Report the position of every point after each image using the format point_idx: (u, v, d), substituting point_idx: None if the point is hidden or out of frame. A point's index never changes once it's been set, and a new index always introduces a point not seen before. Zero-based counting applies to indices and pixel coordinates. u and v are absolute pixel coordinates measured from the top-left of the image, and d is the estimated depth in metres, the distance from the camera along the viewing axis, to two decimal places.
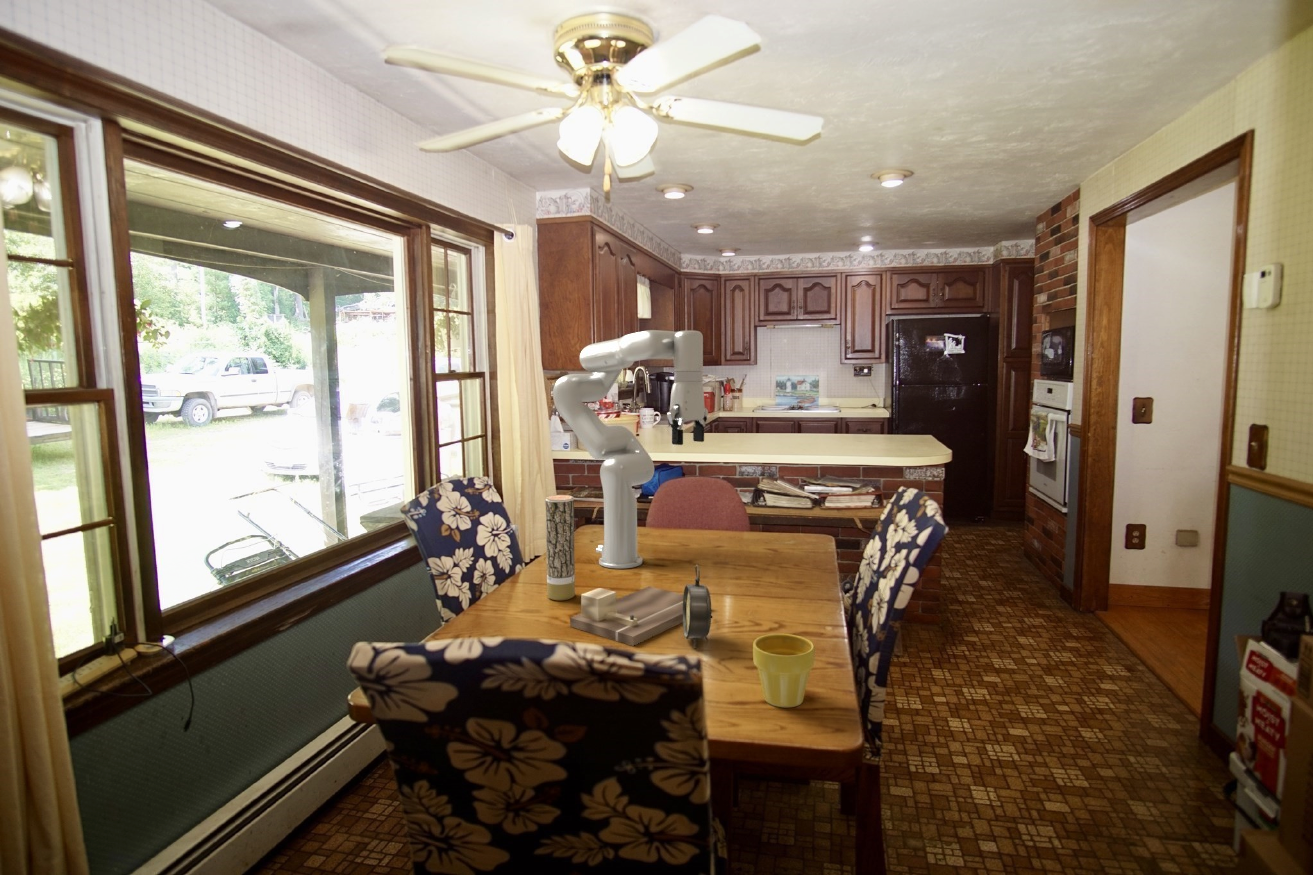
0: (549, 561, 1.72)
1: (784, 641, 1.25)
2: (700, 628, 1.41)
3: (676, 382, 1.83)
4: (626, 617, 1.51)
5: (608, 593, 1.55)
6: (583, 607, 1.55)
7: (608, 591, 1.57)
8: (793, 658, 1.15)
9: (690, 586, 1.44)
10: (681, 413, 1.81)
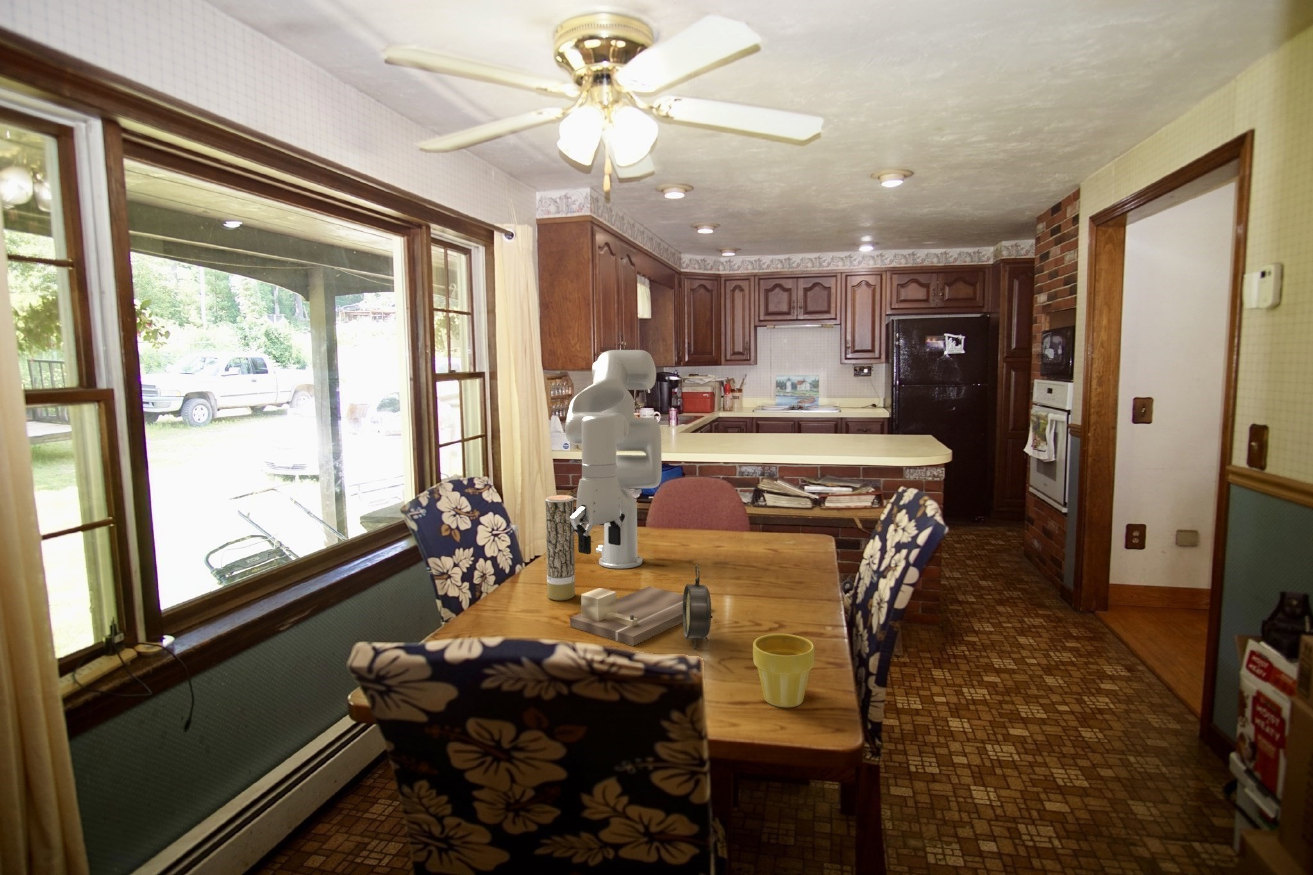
0: (549, 561, 1.72)
1: (784, 641, 1.25)
2: (700, 628, 1.41)
3: (583, 477, 1.52)
4: (626, 617, 1.51)
5: (608, 593, 1.55)
6: (583, 607, 1.55)
7: (608, 591, 1.57)
8: (793, 658, 1.15)
9: (690, 586, 1.44)
10: (588, 516, 1.49)
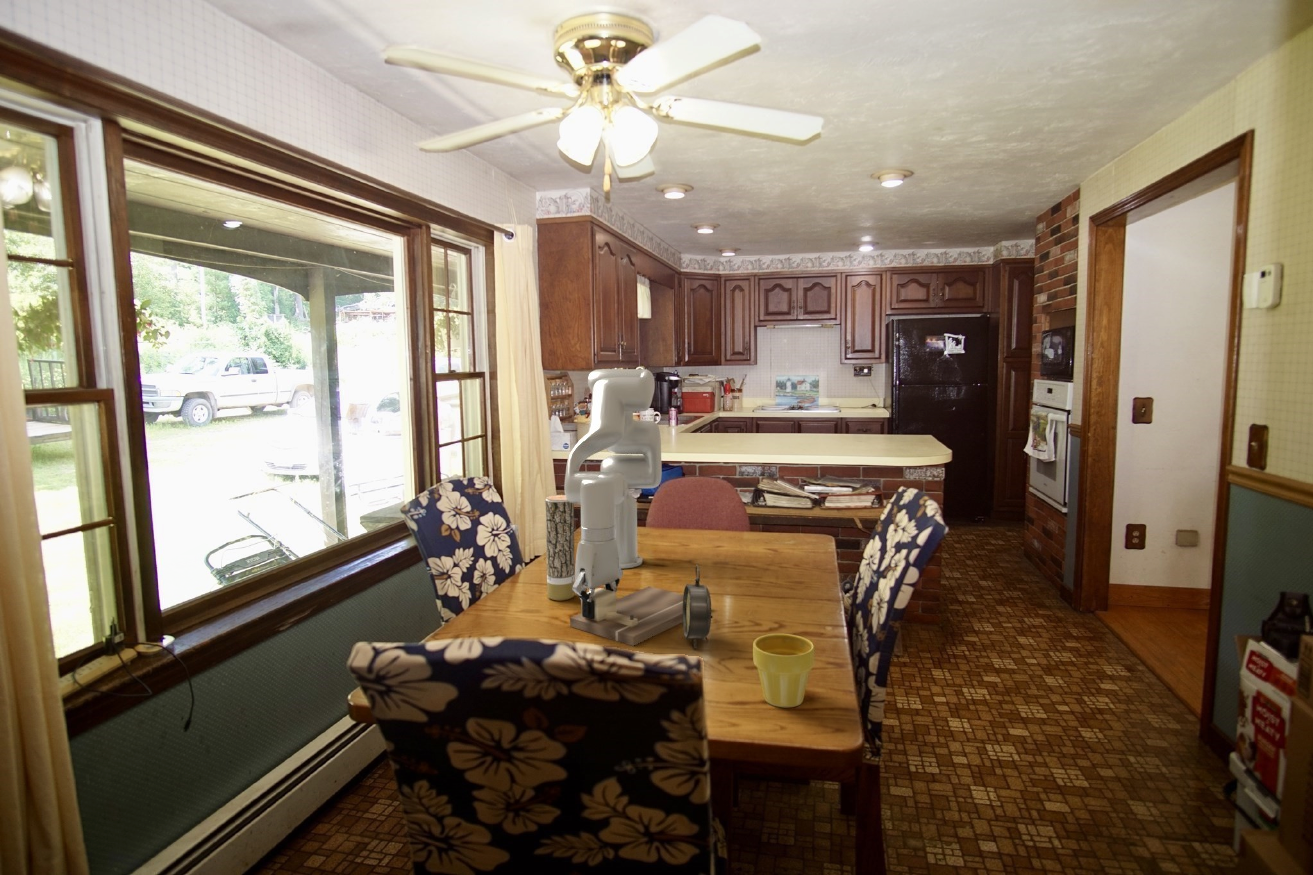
0: (549, 561, 1.72)
1: (784, 641, 1.25)
2: (700, 628, 1.41)
3: (582, 540, 1.53)
4: (626, 617, 1.51)
5: (608, 593, 1.55)
6: None
7: (608, 591, 1.57)
8: (793, 658, 1.15)
9: (690, 586, 1.44)
10: (587, 580, 1.50)
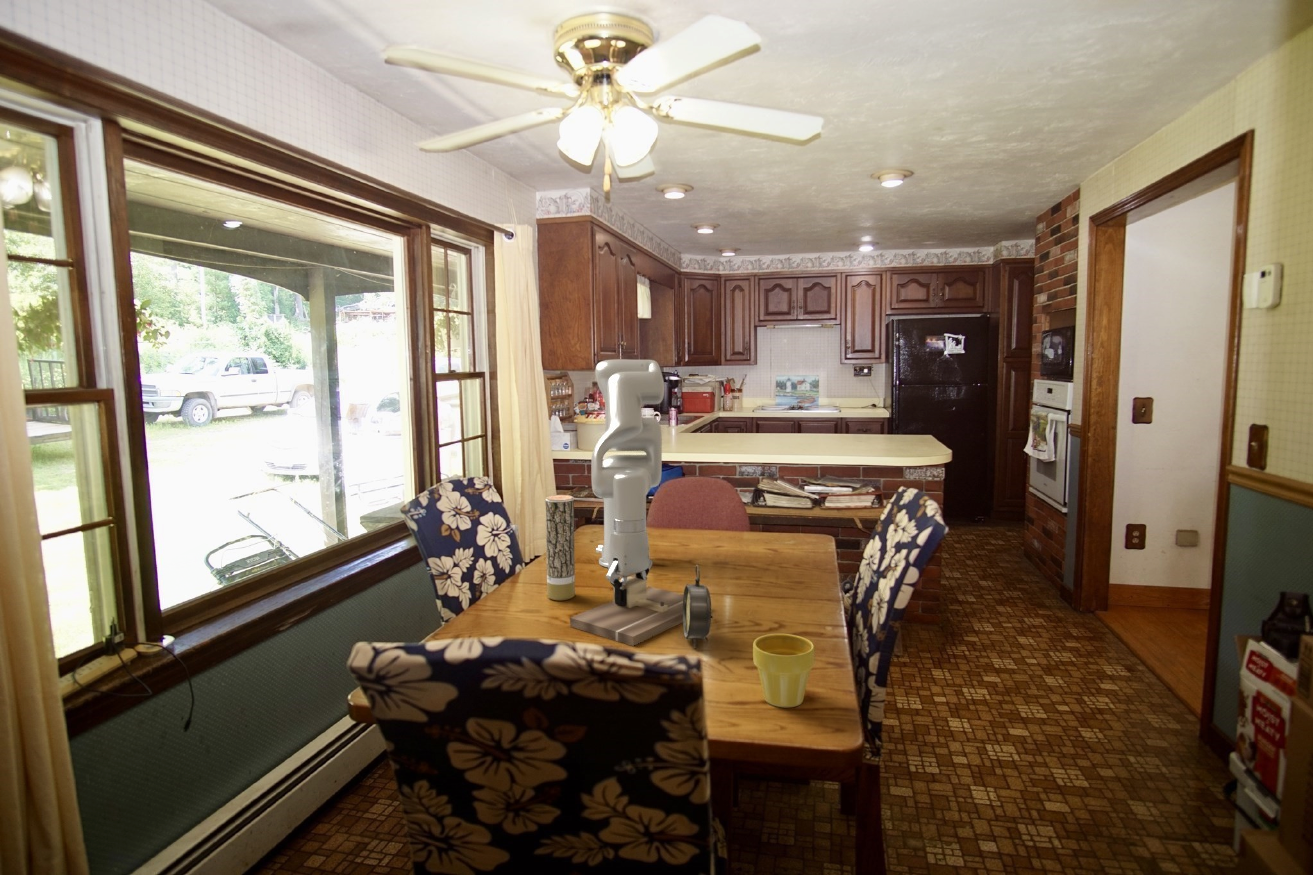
0: (549, 561, 1.72)
1: (784, 641, 1.25)
2: (700, 628, 1.41)
3: (615, 531, 1.61)
4: (656, 604, 1.60)
5: (639, 581, 1.64)
6: None
7: (639, 579, 1.65)
8: (793, 658, 1.15)
9: (690, 586, 1.44)
10: (620, 569, 1.59)
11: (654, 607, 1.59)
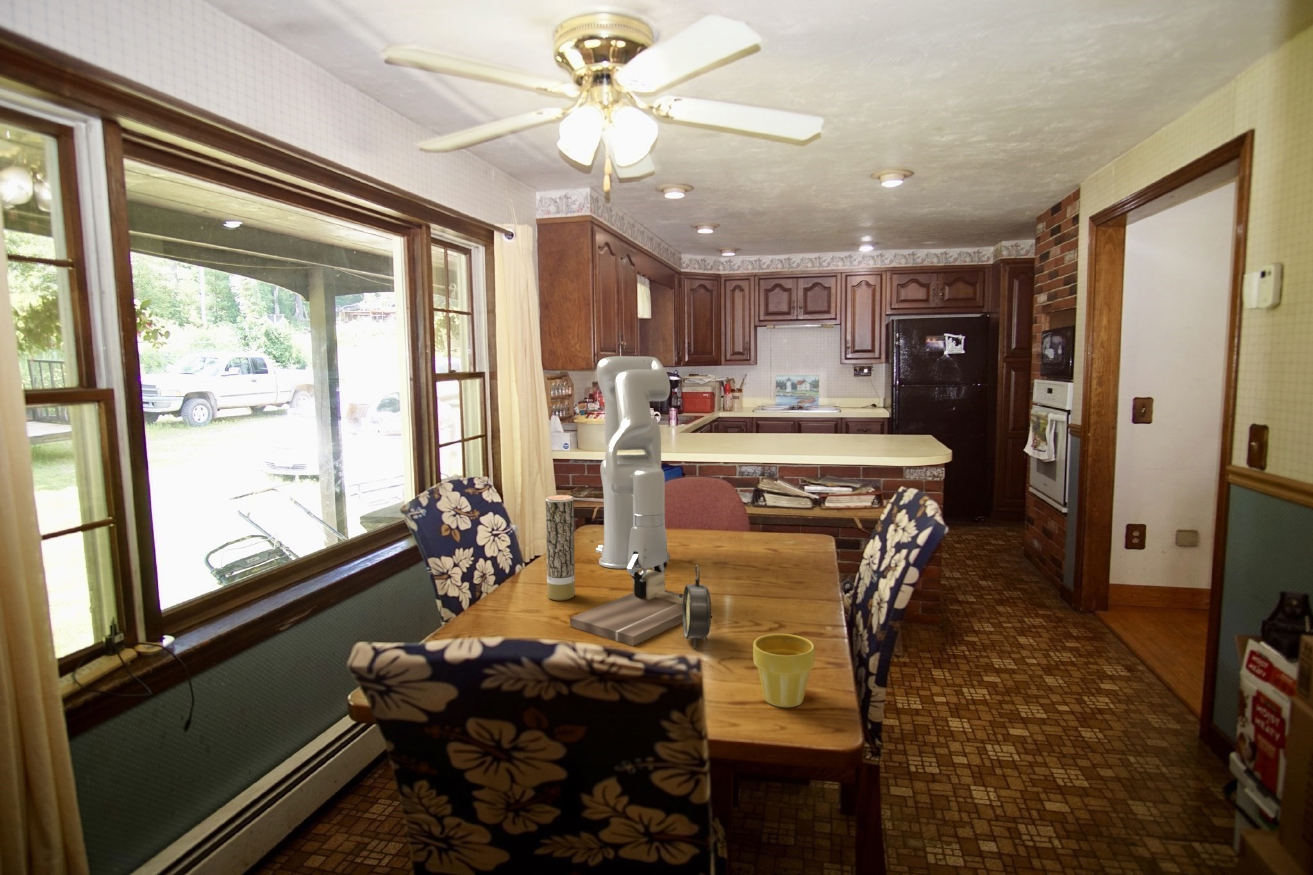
0: (549, 561, 1.72)
1: (784, 641, 1.25)
2: (700, 628, 1.41)
3: (635, 526, 1.67)
4: (675, 595, 1.66)
5: (658, 574, 1.69)
6: None
7: (657, 572, 1.71)
8: (793, 658, 1.15)
9: (690, 586, 1.44)
10: (640, 562, 1.65)
11: (673, 599, 1.65)
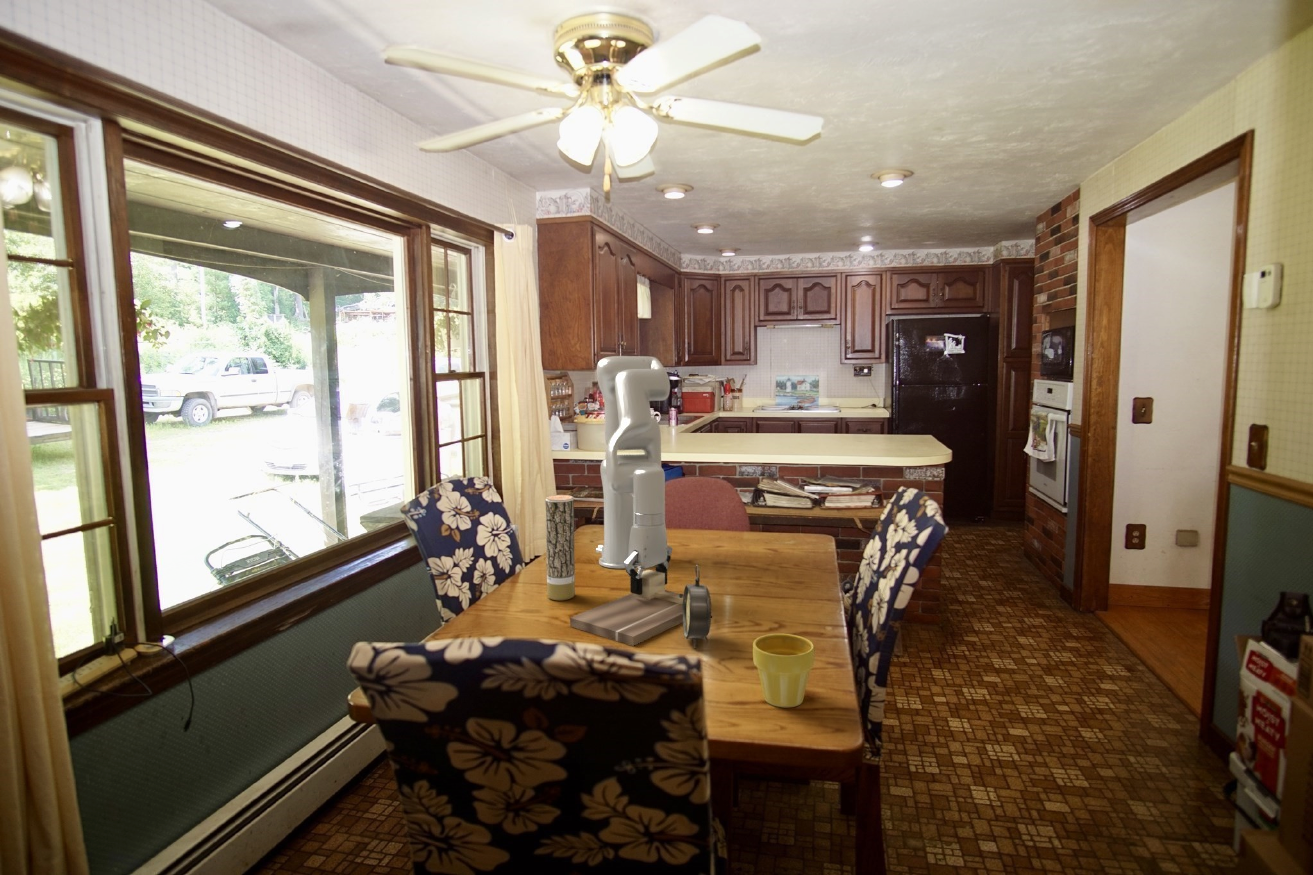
0: (549, 561, 1.72)
1: (784, 641, 1.25)
2: (700, 628, 1.41)
3: (635, 525, 1.67)
4: (675, 595, 1.66)
5: (658, 574, 1.70)
6: None
7: (657, 572, 1.71)
8: (793, 658, 1.15)
9: (690, 586, 1.44)
10: (640, 561, 1.65)
11: (673, 599, 1.65)
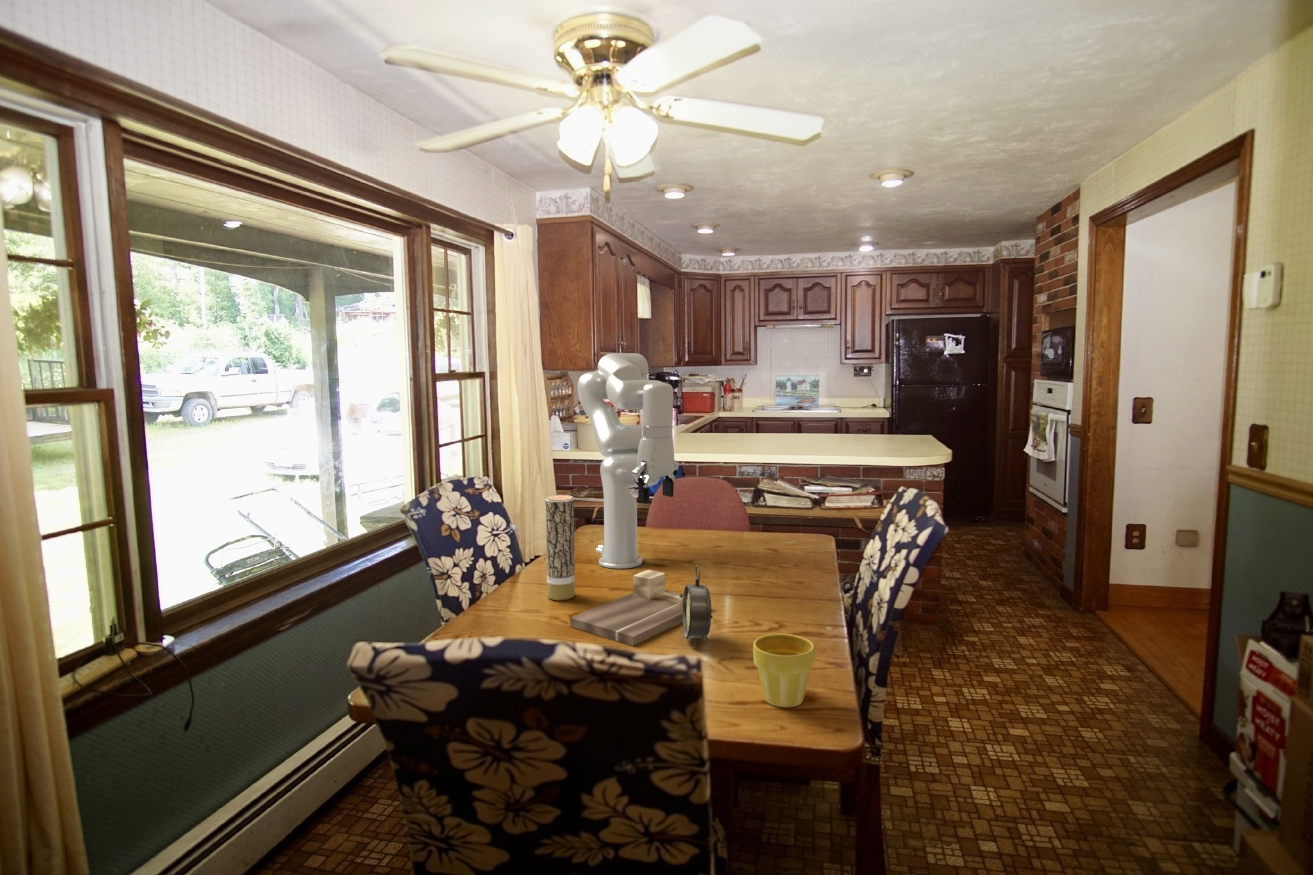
0: (549, 561, 1.72)
1: (784, 641, 1.25)
2: (700, 628, 1.41)
3: (644, 437, 1.75)
4: (675, 595, 1.66)
5: (658, 574, 1.70)
6: (635, 587, 1.69)
7: (657, 572, 1.71)
8: (793, 658, 1.15)
9: (690, 586, 1.44)
10: (648, 471, 1.73)
11: (673, 599, 1.65)
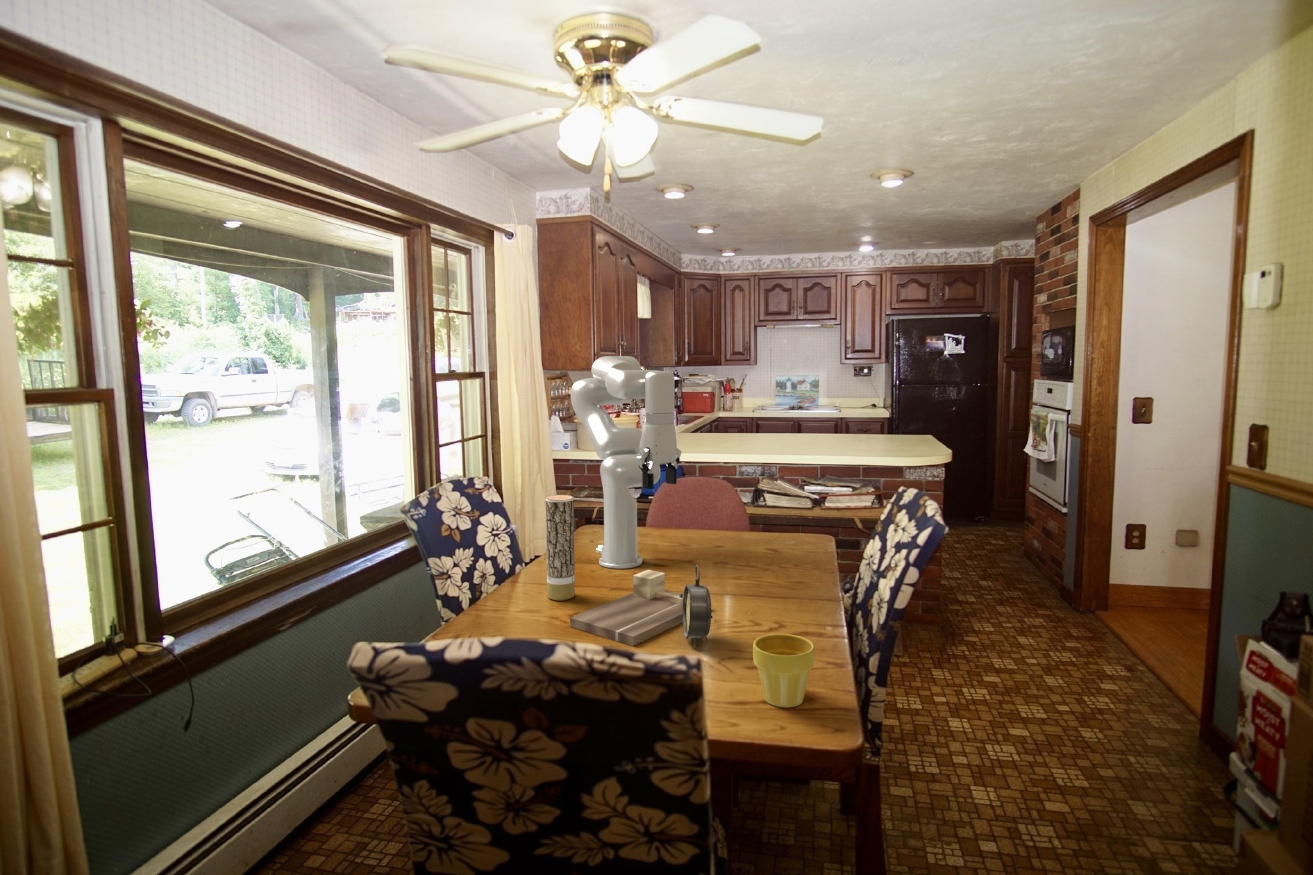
0: (549, 561, 1.72)
1: (784, 641, 1.25)
2: (700, 628, 1.41)
3: (647, 424, 1.78)
4: (675, 595, 1.66)
5: (658, 574, 1.70)
6: (635, 587, 1.69)
7: (657, 572, 1.71)
8: (793, 658, 1.15)
9: (690, 586, 1.44)
10: (651, 457, 1.75)
11: (673, 599, 1.65)
